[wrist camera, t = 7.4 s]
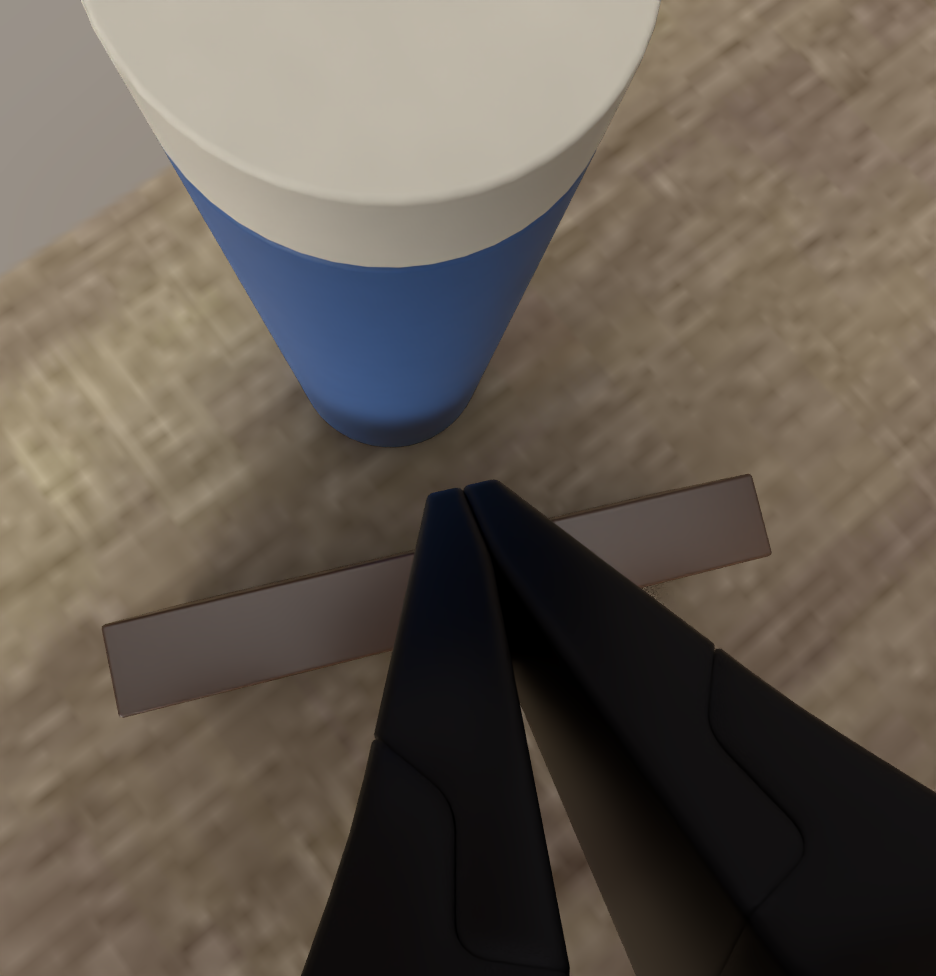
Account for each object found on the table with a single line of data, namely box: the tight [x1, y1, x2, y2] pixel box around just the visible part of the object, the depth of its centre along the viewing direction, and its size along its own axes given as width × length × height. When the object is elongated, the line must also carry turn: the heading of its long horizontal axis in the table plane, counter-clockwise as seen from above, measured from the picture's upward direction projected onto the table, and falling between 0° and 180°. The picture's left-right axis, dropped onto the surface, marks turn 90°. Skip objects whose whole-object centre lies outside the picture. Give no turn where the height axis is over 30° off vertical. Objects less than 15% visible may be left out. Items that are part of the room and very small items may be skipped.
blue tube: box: [81, 0, 661, 447], centre depth 11 cm, size 10×4×12 cm, turn 13°
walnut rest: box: [102, 474, 771, 718], centre depth 14 cm, size 2×12×4 cm, turn 103°
